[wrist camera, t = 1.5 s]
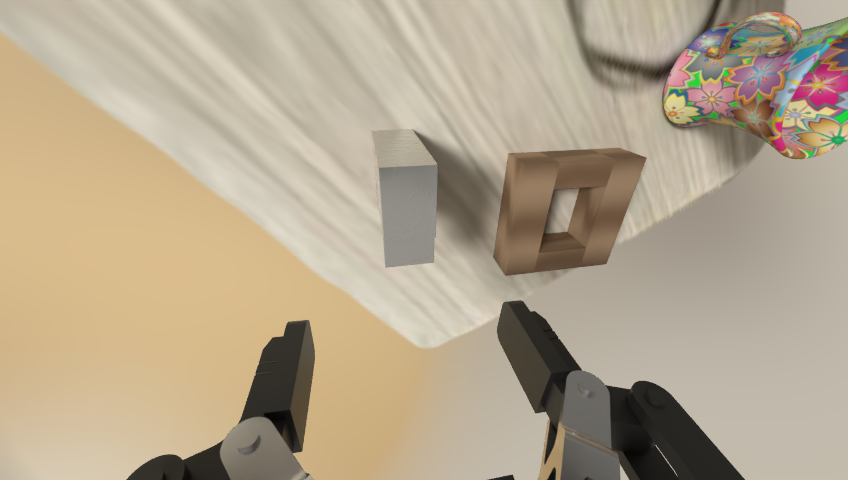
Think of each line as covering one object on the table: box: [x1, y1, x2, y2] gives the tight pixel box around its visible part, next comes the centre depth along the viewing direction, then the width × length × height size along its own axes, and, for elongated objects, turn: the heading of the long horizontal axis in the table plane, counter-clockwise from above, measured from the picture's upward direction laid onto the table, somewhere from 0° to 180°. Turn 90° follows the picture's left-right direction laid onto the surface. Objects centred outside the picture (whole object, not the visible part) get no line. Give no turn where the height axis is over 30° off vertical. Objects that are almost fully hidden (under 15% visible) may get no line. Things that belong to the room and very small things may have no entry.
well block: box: [493, 148, 646, 276], centre depth 32 cm, size 12×12×4 cm
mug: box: [663, 12, 848, 159], centre depth 24 cm, size 12×9×11 cm
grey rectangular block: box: [372, 129, 438, 267], centre depth 24 cm, size 7×4×10 cm, turn 0°
